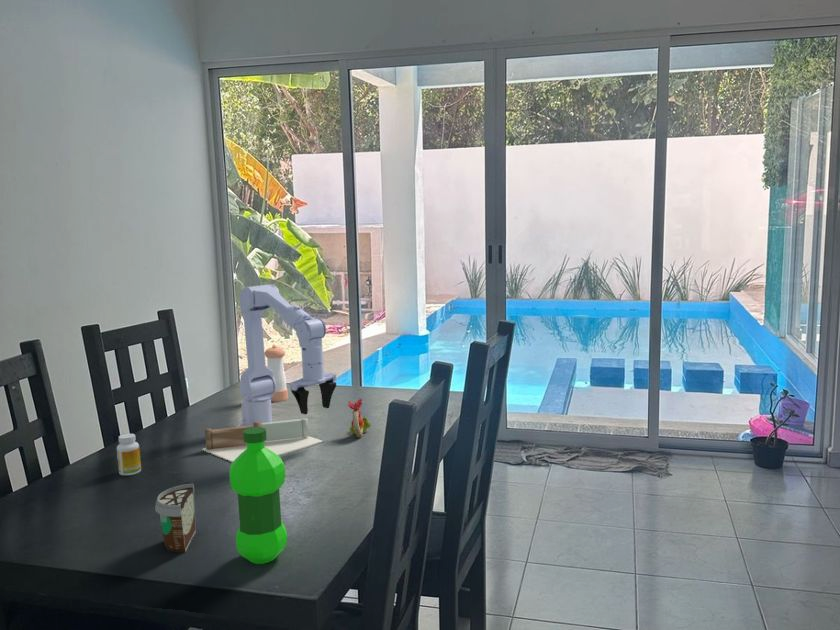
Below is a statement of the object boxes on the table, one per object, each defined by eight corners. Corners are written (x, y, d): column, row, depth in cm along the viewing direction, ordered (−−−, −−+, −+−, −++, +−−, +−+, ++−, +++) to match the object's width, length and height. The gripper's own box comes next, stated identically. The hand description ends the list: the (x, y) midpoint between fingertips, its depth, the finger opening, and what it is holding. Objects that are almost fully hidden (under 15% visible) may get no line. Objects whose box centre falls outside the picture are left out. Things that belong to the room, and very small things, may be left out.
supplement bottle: (146, 470, 188) (142, 433, 187) (129, 477, 184) (126, 440, 182) (130, 467, 191) (127, 431, 189) (114, 474, 186) (110, 437, 184)
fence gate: (263, 440, 207) (262, 422, 207) (308, 435, 211) (307, 418, 210) (263, 442, 206) (262, 424, 205) (308, 436, 209) (308, 419, 208)
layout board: (202, 450, 203) (202, 448, 203) (280, 428, 221) (280, 426, 221) (243, 467, 188) (243, 465, 188) (323, 442, 206) (323, 440, 206)
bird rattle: (370, 444, 210) (371, 423, 218) (368, 414, 204) (368, 394, 212) (349, 445, 210) (350, 424, 218) (346, 415, 204) (347, 395, 212)
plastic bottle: (224, 566, 136) (214, 436, 132) (256, 541, 145) (247, 420, 142) (270, 574, 132) (261, 441, 128) (299, 548, 142) (292, 424, 138)
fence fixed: (206, 447, 203) (204, 427, 203) (261, 441, 207) (260, 421, 207) (206, 450, 202) (204, 429, 201) (262, 443, 206) (260, 423, 205)
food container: (167, 530, 152) (163, 484, 150) (197, 528, 152) (194, 482, 151) (150, 558, 140) (146, 508, 138) (183, 555, 140) (179, 506, 139)
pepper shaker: (263, 401, 253) (260, 347, 250) (271, 396, 260) (268, 343, 257) (283, 401, 252) (280, 347, 249) (291, 396, 259) (287, 343, 256)
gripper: (299, 369, 192) (302, 419, 194) (342, 359, 203) (344, 407, 205) (284, 365, 197) (287, 414, 199) (326, 356, 207) (328, 403, 209)
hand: (315, 410), depth 202 cm, fingers open, 7 cm apart
